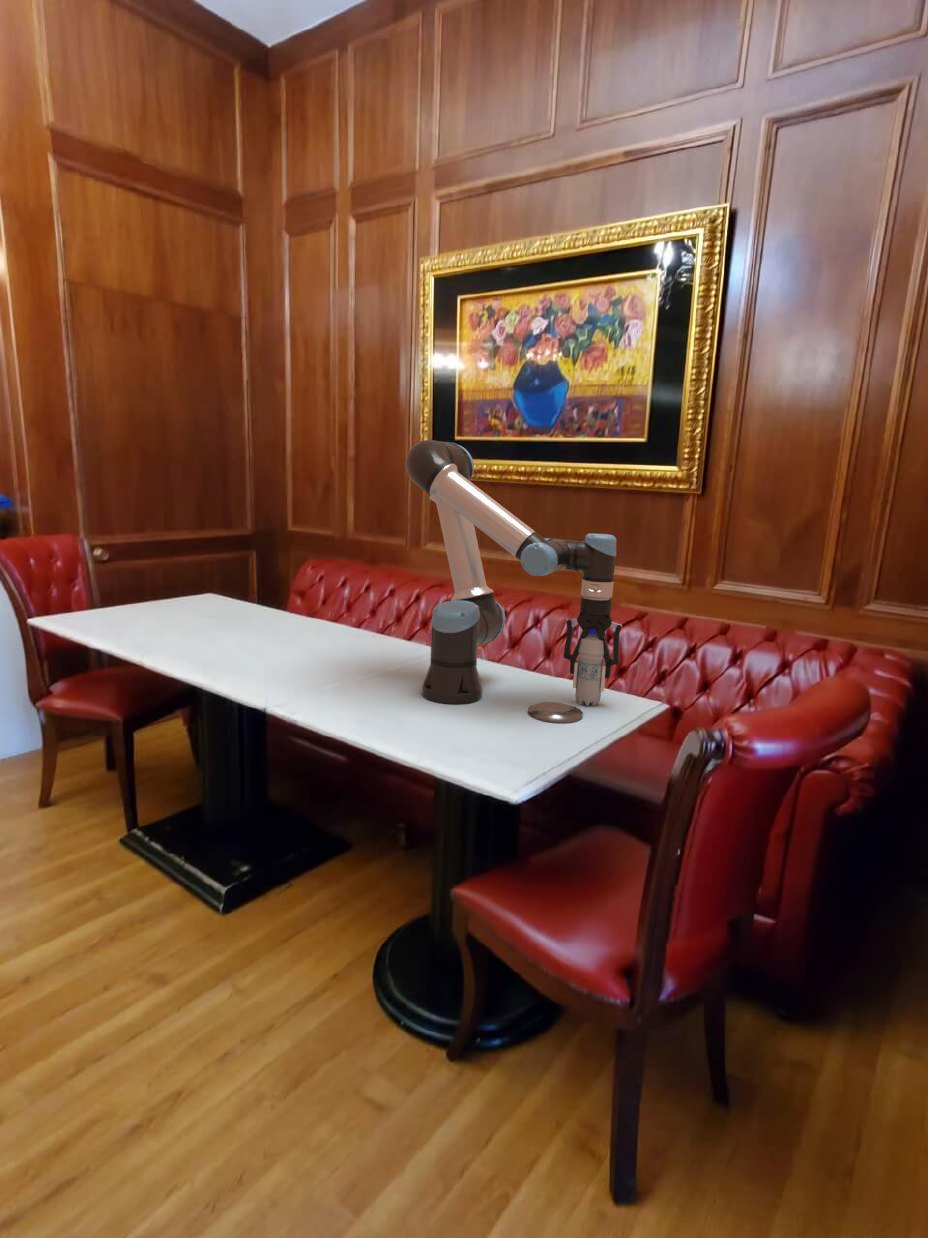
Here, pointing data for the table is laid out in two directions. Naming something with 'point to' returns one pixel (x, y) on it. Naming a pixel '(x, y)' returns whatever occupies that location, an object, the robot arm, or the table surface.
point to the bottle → (590, 668)
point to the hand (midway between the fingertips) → (588, 688)
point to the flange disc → (555, 712)
